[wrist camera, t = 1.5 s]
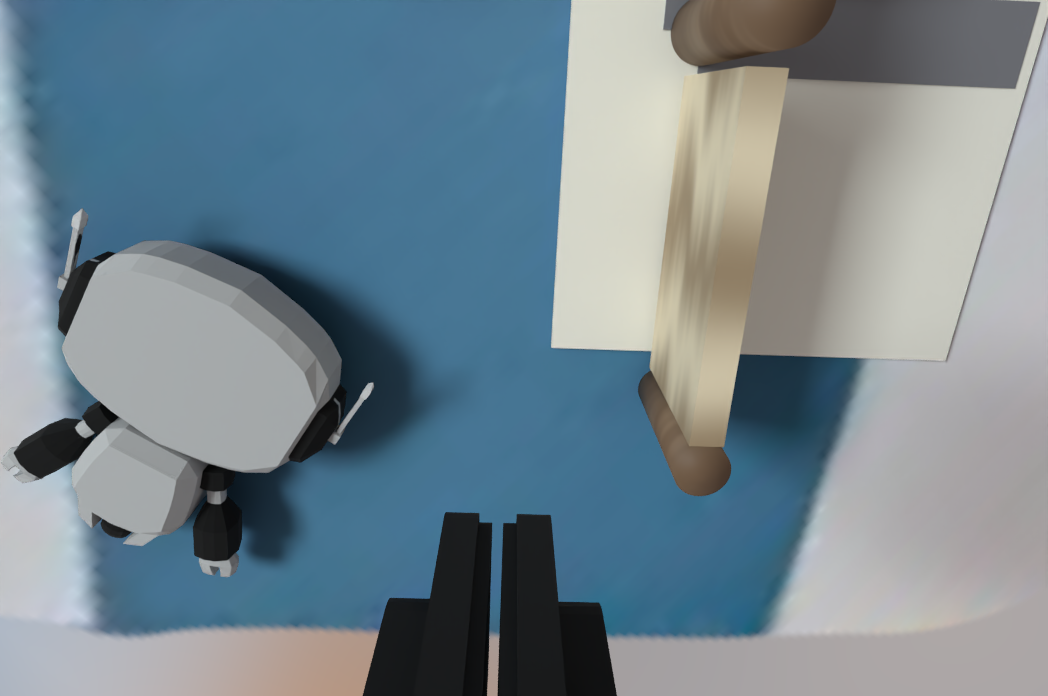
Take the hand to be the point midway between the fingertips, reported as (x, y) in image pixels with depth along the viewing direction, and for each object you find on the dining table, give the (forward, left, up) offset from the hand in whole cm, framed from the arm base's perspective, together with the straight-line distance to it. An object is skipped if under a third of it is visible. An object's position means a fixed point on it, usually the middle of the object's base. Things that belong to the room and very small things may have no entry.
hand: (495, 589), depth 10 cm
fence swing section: (-2, +7, -18) cm, 19 cm away
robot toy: (+6, -14, -19) cm, 25 cm away
